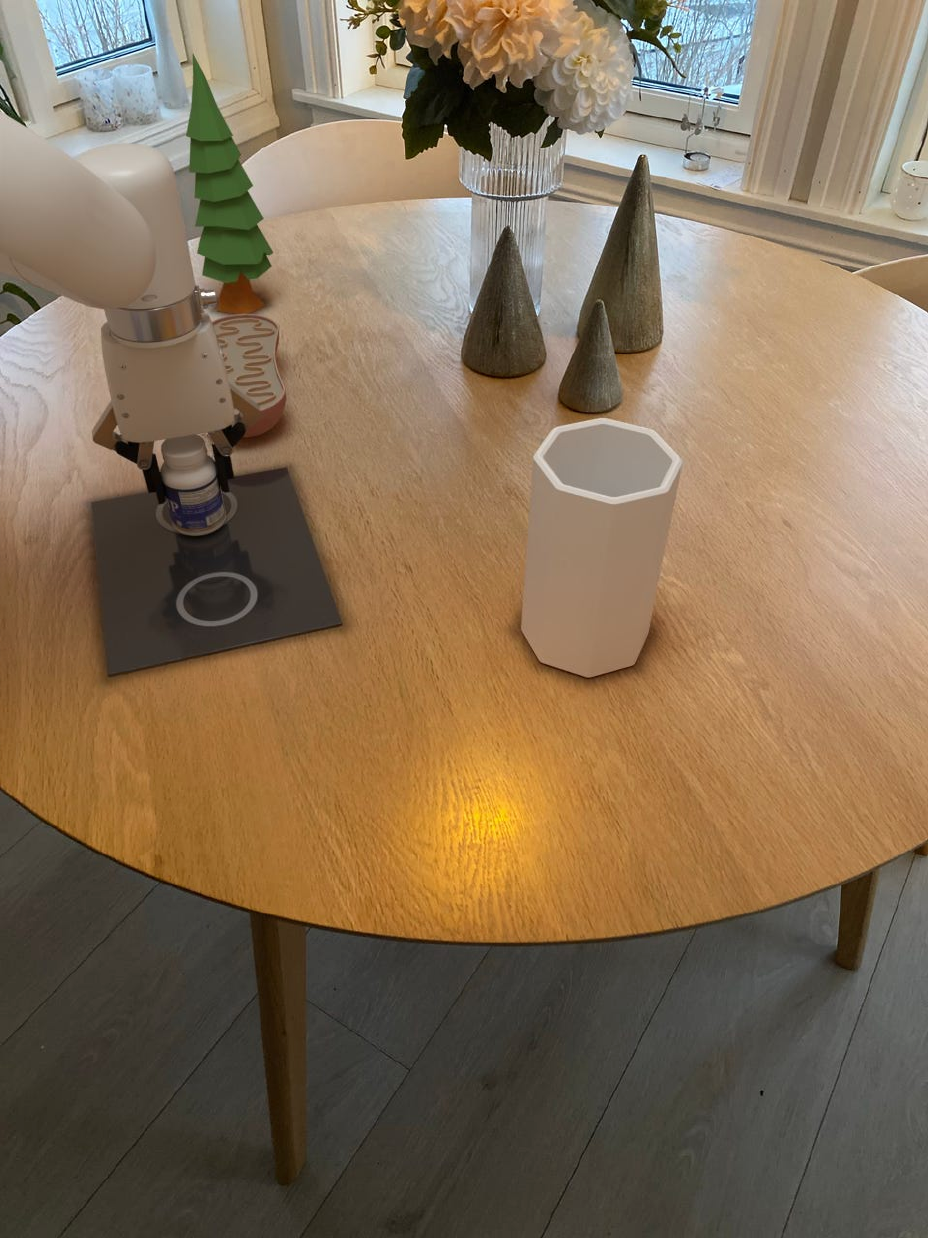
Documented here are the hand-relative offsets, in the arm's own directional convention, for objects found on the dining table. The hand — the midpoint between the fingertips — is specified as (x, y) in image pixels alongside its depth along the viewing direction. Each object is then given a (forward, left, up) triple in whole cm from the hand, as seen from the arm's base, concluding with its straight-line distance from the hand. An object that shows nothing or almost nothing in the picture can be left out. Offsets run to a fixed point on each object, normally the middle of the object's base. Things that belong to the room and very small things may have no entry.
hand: (192, 488), depth 92 cm
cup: (+30, -26, -5) cm, 40 cm away
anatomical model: (+8, +22, -5) cm, 24 cm away
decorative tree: (+12, +46, -5) cm, 48 cm away
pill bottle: (0, 0, -4) cm, 4 cm away
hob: (0, -6, -4) cm, 7 cm away
